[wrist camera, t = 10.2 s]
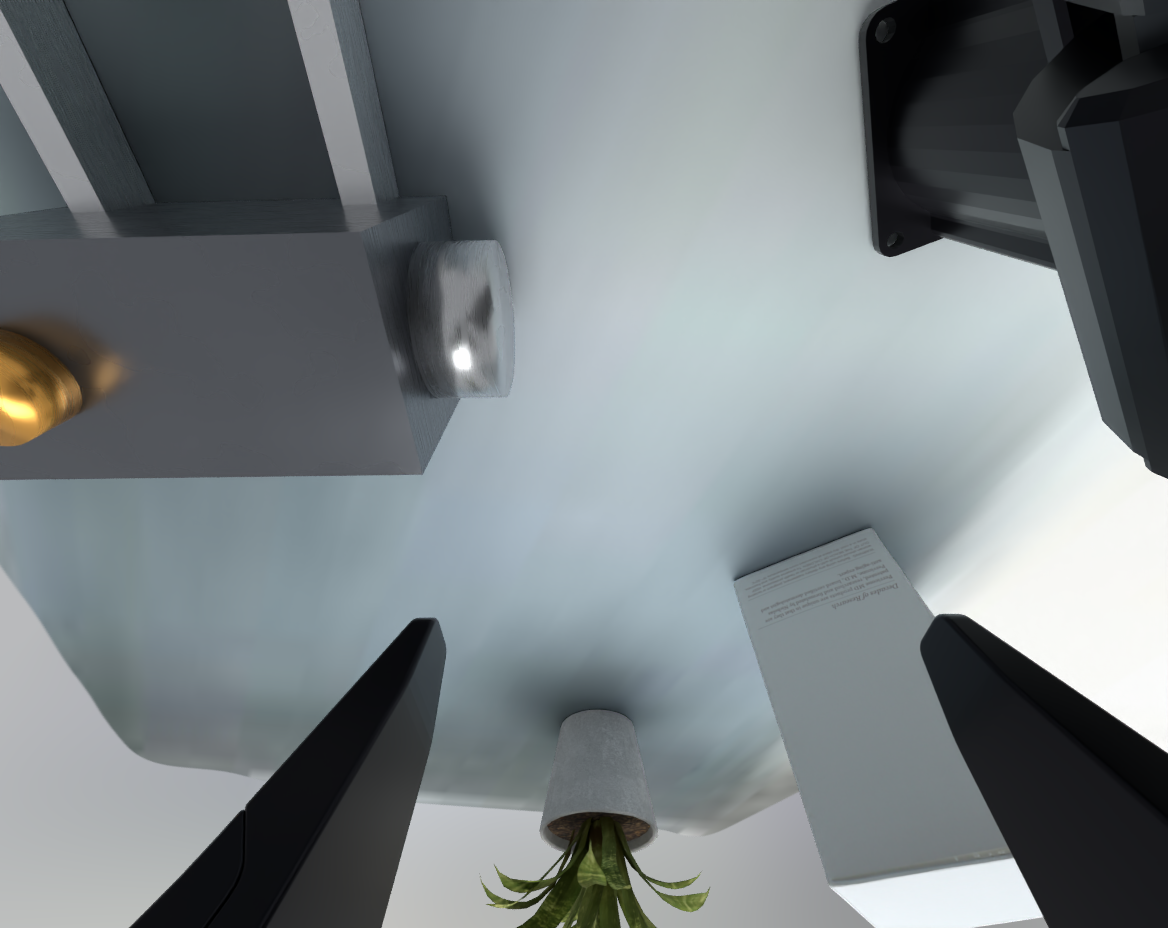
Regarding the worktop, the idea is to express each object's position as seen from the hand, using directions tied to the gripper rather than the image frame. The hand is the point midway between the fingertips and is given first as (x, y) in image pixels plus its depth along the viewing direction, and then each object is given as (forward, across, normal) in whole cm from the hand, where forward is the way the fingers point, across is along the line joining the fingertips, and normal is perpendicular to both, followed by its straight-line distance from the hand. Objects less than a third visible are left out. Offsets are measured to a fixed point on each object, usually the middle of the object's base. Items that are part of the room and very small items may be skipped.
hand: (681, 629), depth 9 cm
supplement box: (+12, -10, +13) cm, 21 cm away
